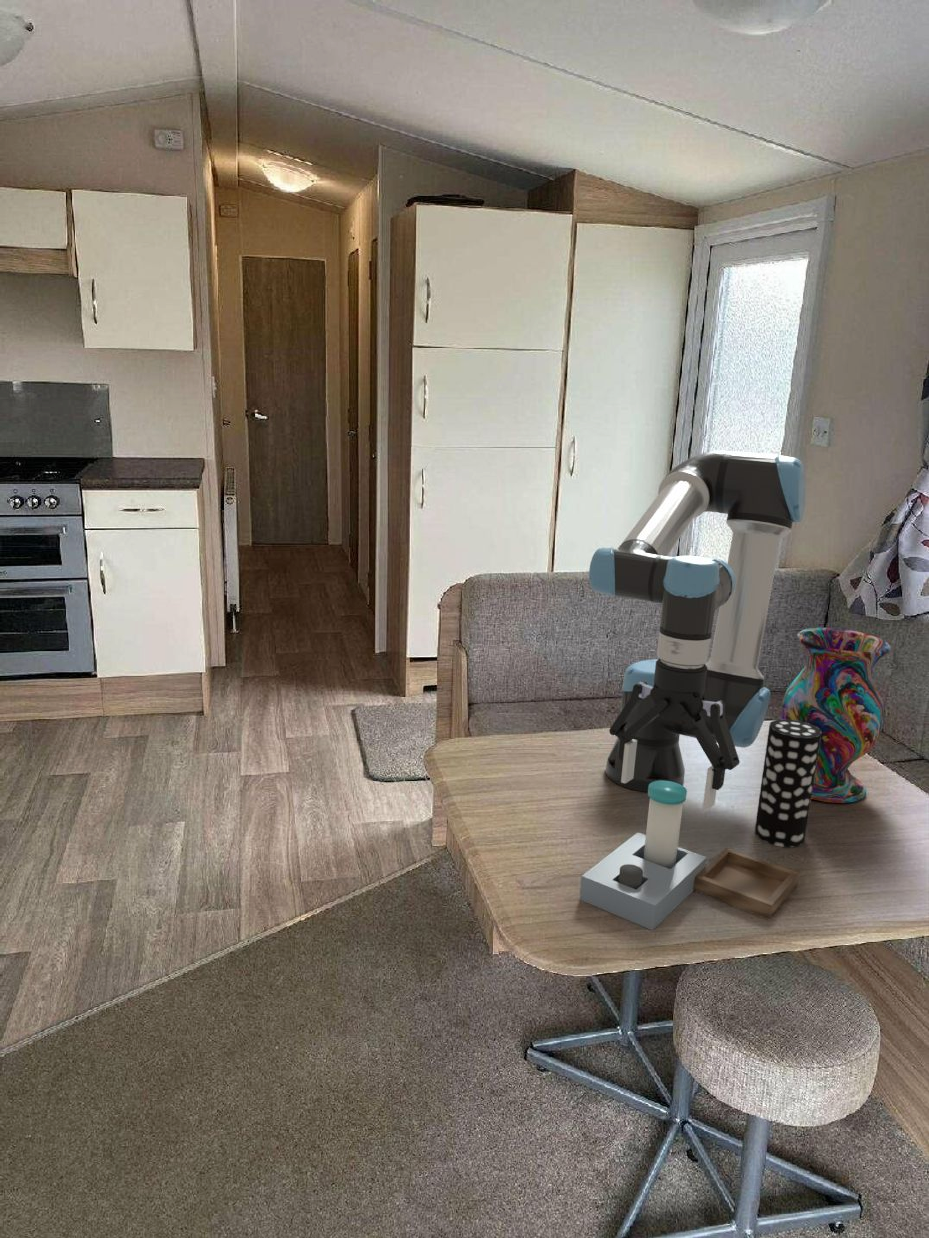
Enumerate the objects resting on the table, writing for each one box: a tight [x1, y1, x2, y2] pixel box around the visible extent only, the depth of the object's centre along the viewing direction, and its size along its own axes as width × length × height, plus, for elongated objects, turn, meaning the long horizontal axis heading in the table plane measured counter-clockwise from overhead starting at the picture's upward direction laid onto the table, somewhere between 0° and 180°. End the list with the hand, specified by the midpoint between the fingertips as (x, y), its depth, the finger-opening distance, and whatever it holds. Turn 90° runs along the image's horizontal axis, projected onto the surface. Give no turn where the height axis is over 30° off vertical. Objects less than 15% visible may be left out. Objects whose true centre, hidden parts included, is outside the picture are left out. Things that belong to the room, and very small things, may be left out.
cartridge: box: [643, 781, 688, 869], centre depth 147 cm, size 6×6×15 cm
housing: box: [579, 831, 708, 931], centre depth 144 cm, size 12×18×4 cm, turn 143°
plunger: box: [618, 864, 643, 890], centre depth 140 cm, size 3×3×4 cm
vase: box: [780, 627, 891, 804], centre depth 181 cm, size 18×18×30 cm
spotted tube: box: [754, 718, 822, 848], centre depth 161 cm, size 8×8×20 cm
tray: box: [693, 846, 800, 920], centre depth 146 cm, size 12×12×2 cm
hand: (666, 793), depth 145 cm, fingers open, 13 cm apart
